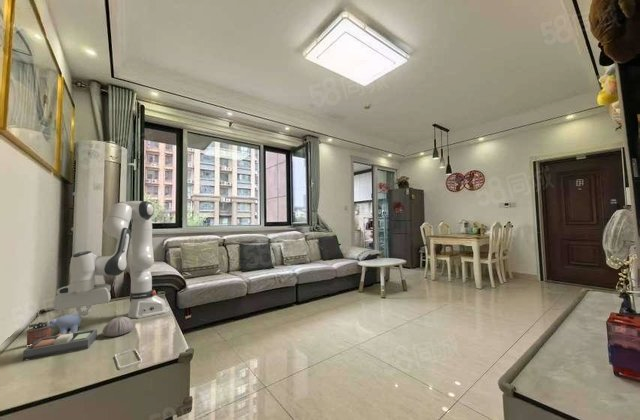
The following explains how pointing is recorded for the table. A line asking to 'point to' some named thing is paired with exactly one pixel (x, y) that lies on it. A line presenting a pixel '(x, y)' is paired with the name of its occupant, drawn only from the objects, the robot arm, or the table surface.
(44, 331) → the lighter
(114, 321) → the sea urchin shell
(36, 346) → the terracotta key
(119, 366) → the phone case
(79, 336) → the sage key
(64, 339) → the cream key
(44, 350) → the grey tray
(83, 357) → the table surface
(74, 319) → the hippopotamus toy
